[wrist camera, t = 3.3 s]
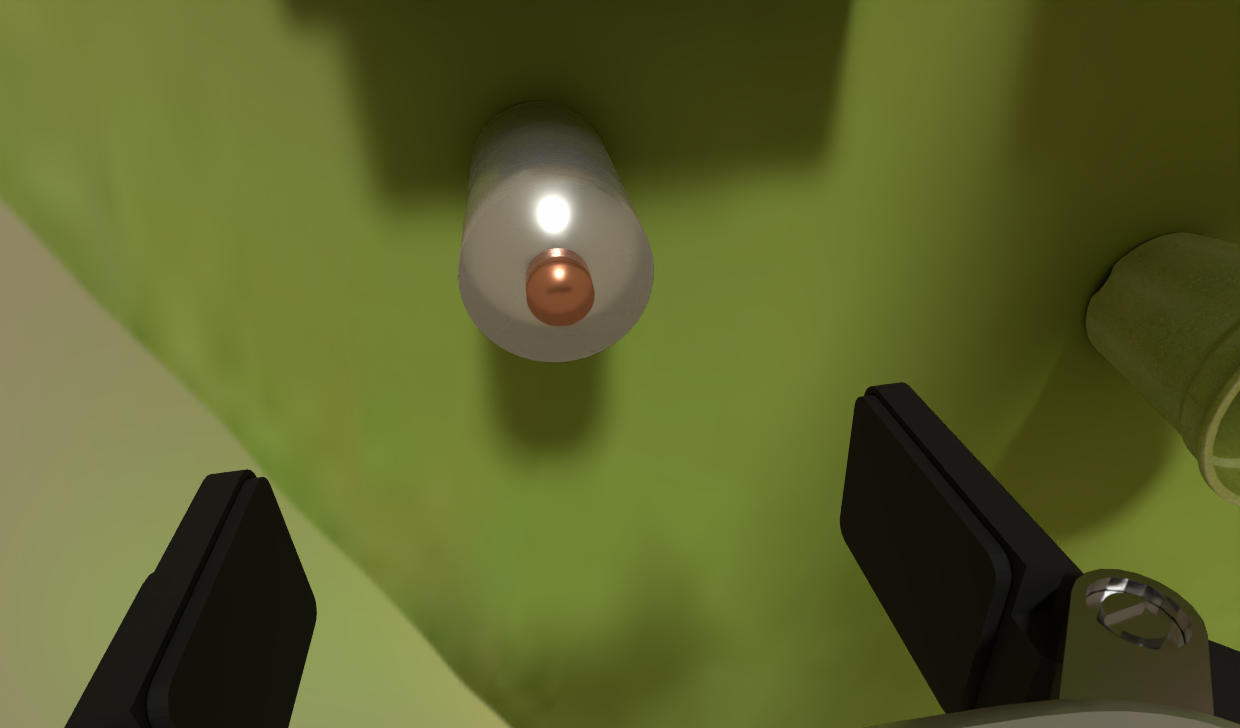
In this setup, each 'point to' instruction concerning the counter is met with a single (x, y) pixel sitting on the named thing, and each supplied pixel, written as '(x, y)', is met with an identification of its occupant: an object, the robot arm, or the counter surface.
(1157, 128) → the counter surface
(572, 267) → the spout can
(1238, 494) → the plant pot
